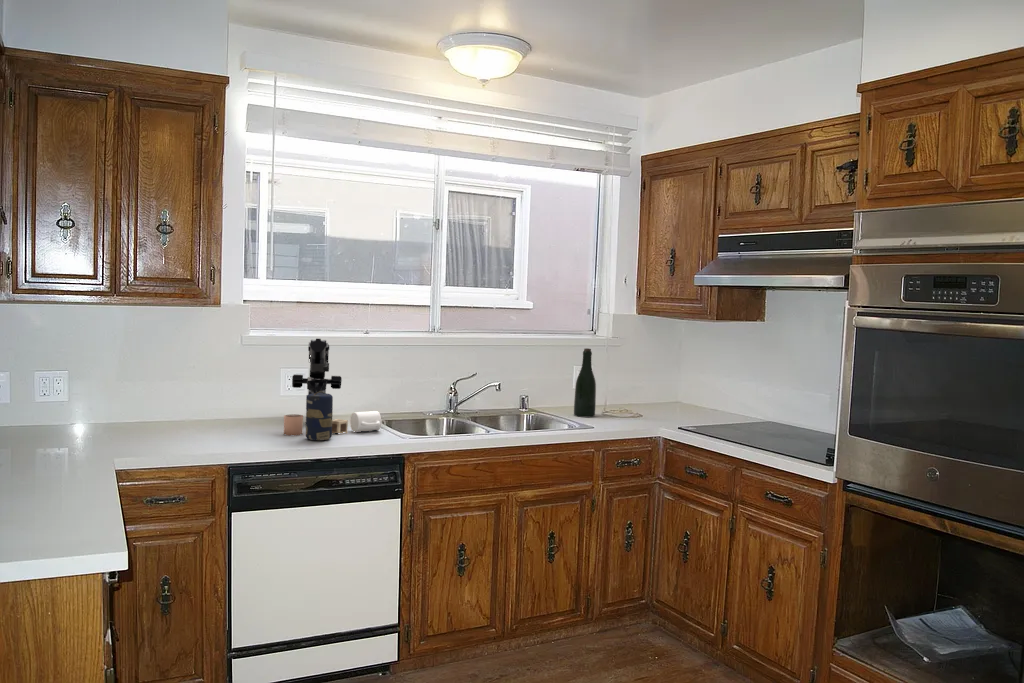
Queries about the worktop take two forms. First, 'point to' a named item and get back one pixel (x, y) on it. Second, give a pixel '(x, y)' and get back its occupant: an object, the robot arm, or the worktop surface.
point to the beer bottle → (585, 388)
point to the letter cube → (339, 426)
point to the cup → (293, 424)
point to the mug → (365, 421)
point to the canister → (319, 416)
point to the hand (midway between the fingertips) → (316, 400)
